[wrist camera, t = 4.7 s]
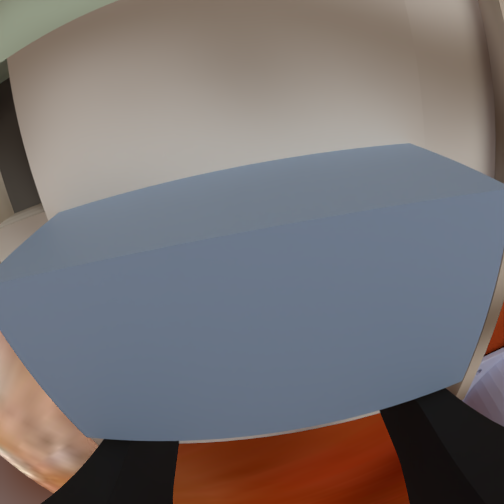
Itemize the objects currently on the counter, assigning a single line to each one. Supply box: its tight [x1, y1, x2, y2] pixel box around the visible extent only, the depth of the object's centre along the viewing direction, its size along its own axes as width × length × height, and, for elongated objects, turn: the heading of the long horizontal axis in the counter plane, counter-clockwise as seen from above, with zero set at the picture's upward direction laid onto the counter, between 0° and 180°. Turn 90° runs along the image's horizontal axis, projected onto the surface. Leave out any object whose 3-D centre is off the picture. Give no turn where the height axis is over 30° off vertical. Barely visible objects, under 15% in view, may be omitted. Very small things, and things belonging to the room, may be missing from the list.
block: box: [0, 143, 504, 441], centre depth 7 cm, size 5×10×4 cm, turn 100°
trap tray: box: [0, 0, 504, 445], centre depth 8 cm, size 24×18×3 cm
